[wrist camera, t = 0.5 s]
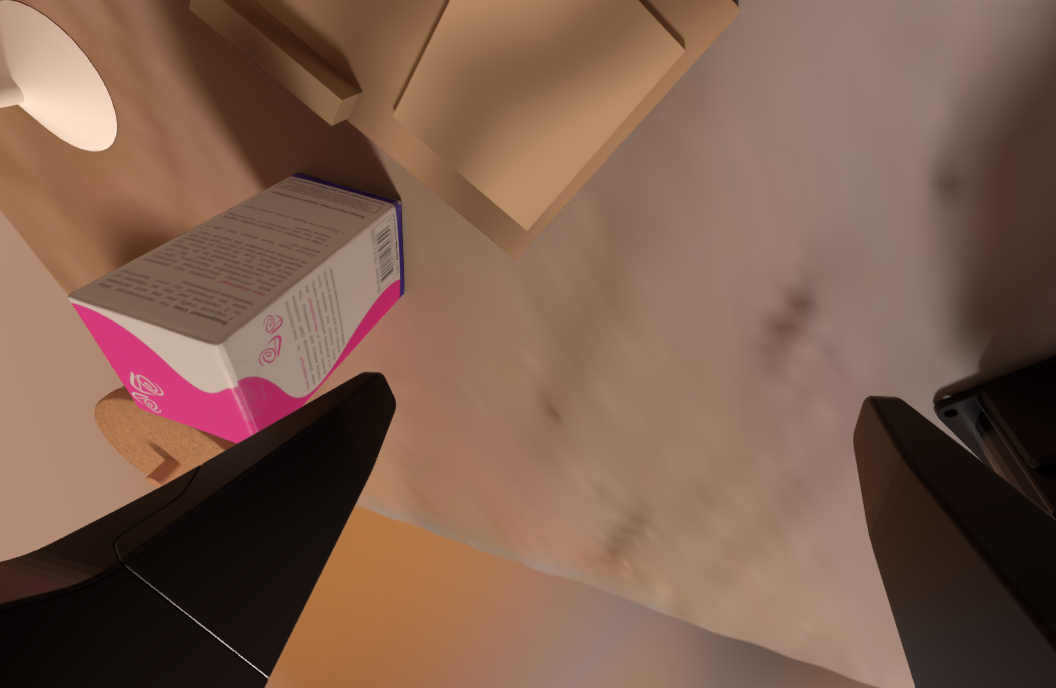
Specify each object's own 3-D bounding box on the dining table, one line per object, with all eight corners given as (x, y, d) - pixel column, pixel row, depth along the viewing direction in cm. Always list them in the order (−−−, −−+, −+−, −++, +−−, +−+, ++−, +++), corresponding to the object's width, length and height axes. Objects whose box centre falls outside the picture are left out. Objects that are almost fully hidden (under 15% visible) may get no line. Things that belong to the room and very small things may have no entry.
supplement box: (292, 169, 23) (54, 291, 14) (403, 198, 22) (226, 345, 14) (310, 269, 27) (131, 413, 18) (406, 296, 26) (268, 459, 18)
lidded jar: (317, 347, 31) (208, 459, 24) (334, 443, 38) (253, 552, 31) (174, 300, 32) (28, 396, 25) (216, 403, 39) (112, 500, 32)
